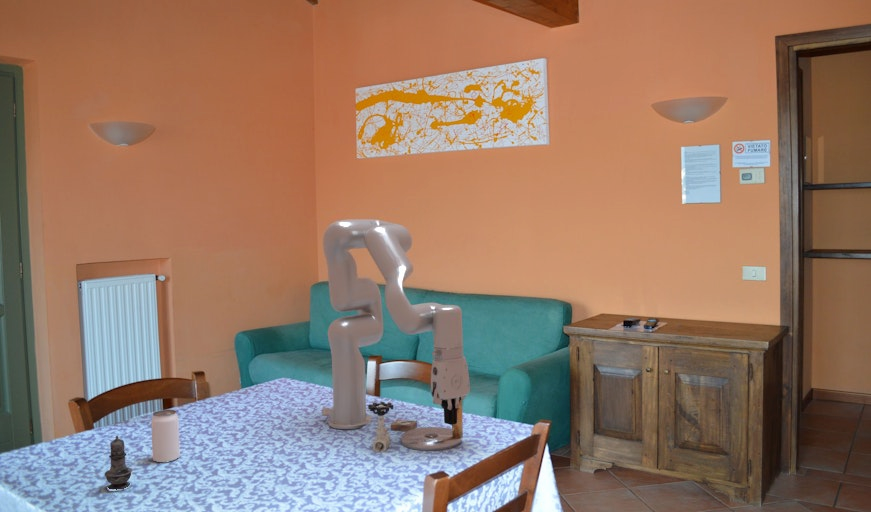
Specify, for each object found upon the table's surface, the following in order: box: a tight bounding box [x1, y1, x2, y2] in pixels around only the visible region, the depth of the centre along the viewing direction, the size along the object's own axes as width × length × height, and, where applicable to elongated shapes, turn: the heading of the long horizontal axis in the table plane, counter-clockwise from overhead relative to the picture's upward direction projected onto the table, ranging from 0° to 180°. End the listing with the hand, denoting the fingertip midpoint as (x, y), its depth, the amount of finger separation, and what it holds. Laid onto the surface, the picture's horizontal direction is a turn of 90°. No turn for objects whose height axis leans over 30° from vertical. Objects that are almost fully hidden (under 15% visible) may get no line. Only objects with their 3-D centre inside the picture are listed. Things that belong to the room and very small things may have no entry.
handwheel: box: [400, 405, 464, 452], centre depth 190 cm, size 16×16×9 cm
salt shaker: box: [104, 435, 133, 490], centre depth 163 cm, size 6×6×12 cm
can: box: [150, 409, 181, 463], centre depth 182 cm, size 6×6×12 cm
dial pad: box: [390, 419, 418, 432], centre depth 202 cm, size 6×5×3 cm
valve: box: [367, 401, 394, 453], centre depth 186 cm, size 7×7×12 cm
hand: (450, 423), depth 186 cm, fingers closed
